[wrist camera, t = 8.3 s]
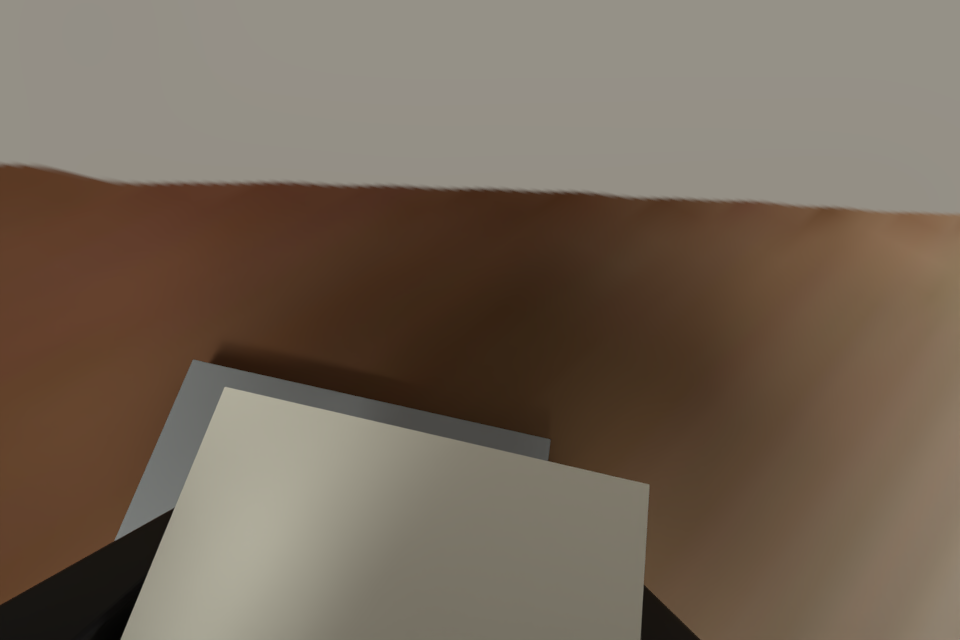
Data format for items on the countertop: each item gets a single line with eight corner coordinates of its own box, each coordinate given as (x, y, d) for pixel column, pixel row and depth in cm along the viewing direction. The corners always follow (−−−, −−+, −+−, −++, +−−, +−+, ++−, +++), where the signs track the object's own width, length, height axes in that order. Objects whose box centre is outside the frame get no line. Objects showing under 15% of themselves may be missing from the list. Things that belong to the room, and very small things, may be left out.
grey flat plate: (541, 448, 22) (550, 439, 21) (469, 994, 15) (476, 1021, 14) (202, 373, 21) (192, 359, 20) (-25, 912, 15) (-57, 934, 14)
